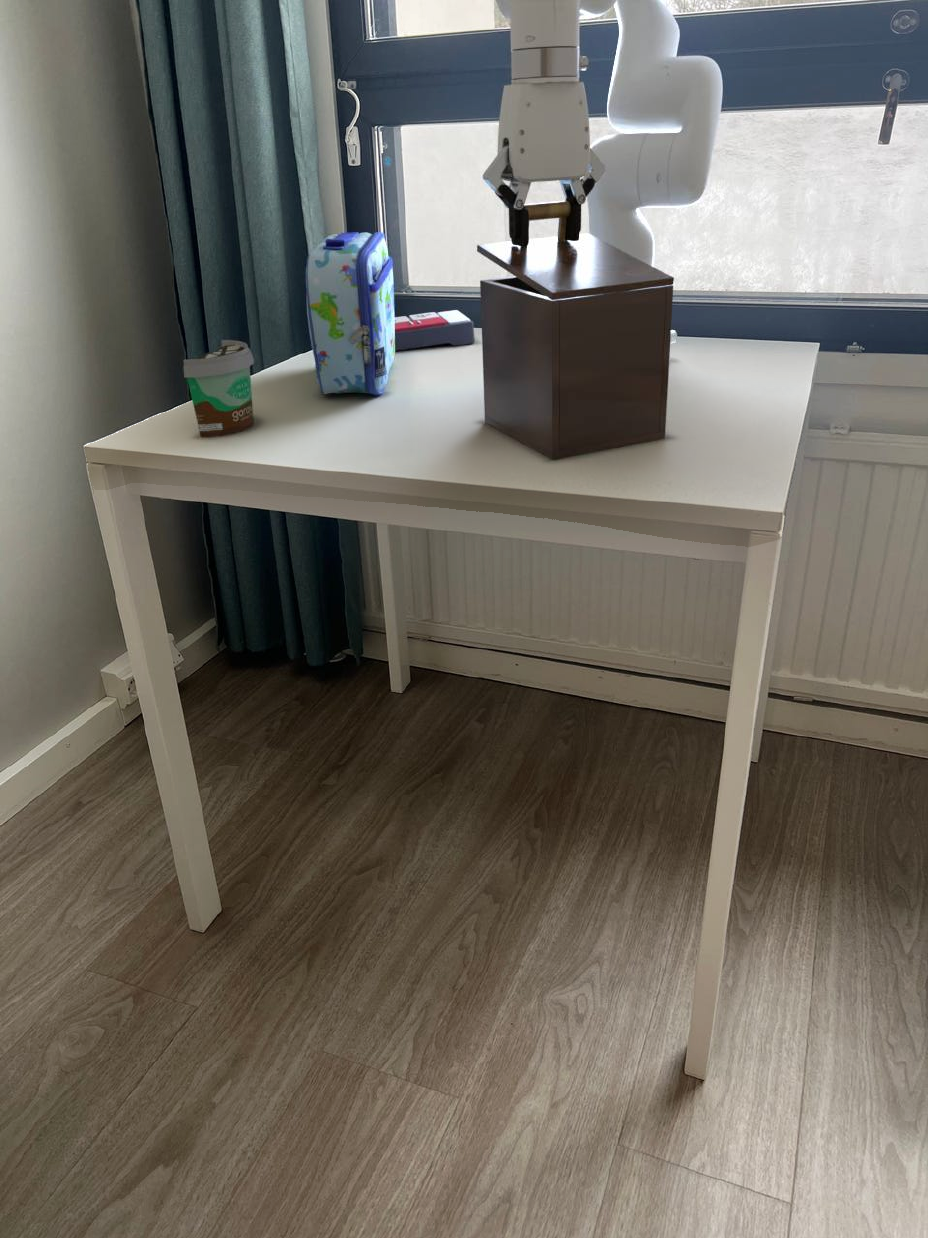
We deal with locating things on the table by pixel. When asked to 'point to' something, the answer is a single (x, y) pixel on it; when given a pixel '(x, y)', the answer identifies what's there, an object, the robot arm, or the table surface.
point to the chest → (575, 366)
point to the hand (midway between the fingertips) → (545, 241)
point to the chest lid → (571, 261)
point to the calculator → (433, 330)
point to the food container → (222, 389)
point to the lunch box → (351, 312)
